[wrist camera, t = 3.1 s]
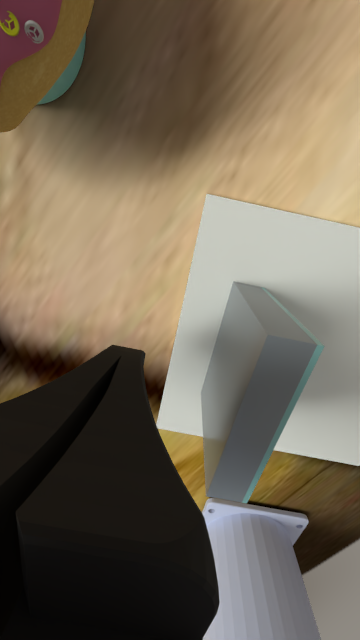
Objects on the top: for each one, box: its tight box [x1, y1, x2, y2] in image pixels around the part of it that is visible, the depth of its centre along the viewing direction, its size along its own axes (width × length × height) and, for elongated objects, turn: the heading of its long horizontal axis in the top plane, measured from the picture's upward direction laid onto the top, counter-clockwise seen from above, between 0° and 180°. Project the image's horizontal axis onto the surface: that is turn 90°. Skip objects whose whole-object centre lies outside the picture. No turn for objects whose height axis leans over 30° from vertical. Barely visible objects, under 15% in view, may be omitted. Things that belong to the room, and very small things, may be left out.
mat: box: [156, 194, 360, 466], centre depth 14 cm, size 14×14×1 cm
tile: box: [201, 281, 324, 504], centre depth 11 cm, size 2×7×6 cm, turn 169°
